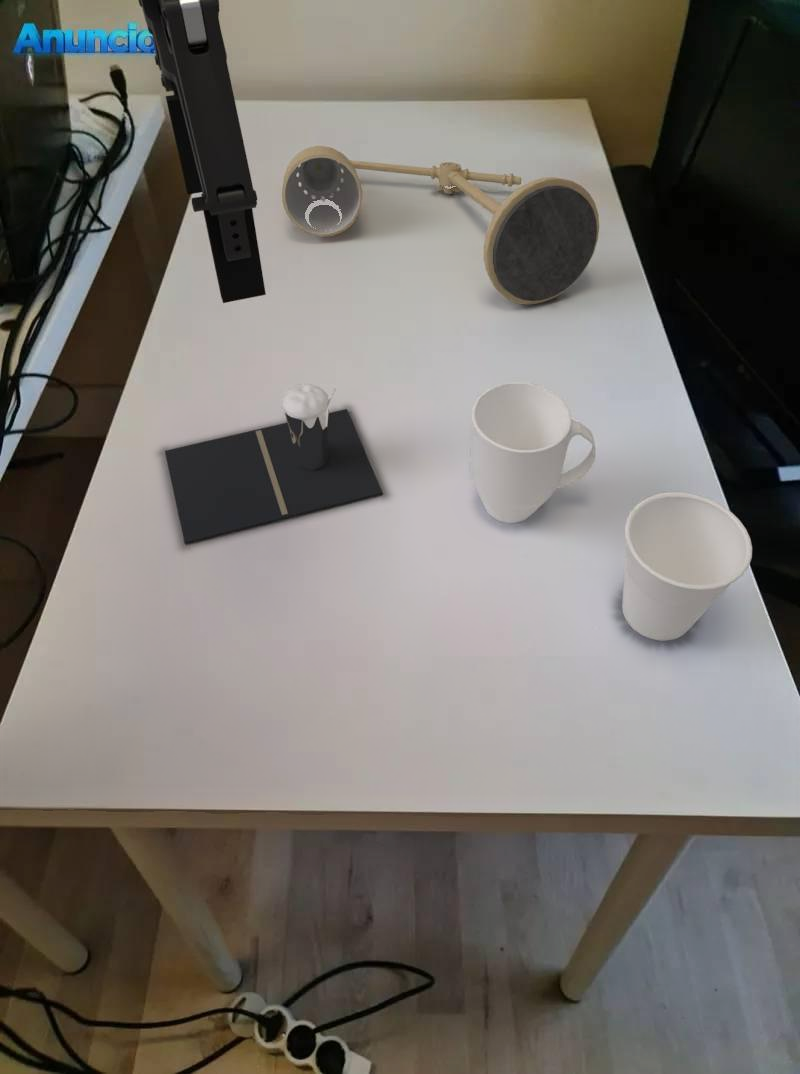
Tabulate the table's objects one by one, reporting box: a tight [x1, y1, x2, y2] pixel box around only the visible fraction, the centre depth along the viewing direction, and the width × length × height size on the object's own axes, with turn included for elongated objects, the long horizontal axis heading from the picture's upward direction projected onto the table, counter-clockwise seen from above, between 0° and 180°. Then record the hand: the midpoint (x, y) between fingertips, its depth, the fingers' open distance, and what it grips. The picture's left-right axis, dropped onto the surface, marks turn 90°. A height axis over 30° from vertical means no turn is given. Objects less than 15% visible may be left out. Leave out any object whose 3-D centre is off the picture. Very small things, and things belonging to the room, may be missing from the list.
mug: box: [469, 381, 597, 524], centre depth 78 cm, size 12×9×12 cm
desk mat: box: [164, 408, 384, 545], centre depth 86 cm, size 20×13×1 cm, turn 108°
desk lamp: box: [281, 145, 600, 305], centre depth 110 cm, size 15×35×40 cm
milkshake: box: [281, 383, 336, 470], centre depth 82 cm, size 5×5×10 cm
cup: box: [621, 491, 753, 642], centre depth 70 cm, size 10×10×11 cm
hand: (223, 239), depth 56 cm, fingers open, 13 cm apart
